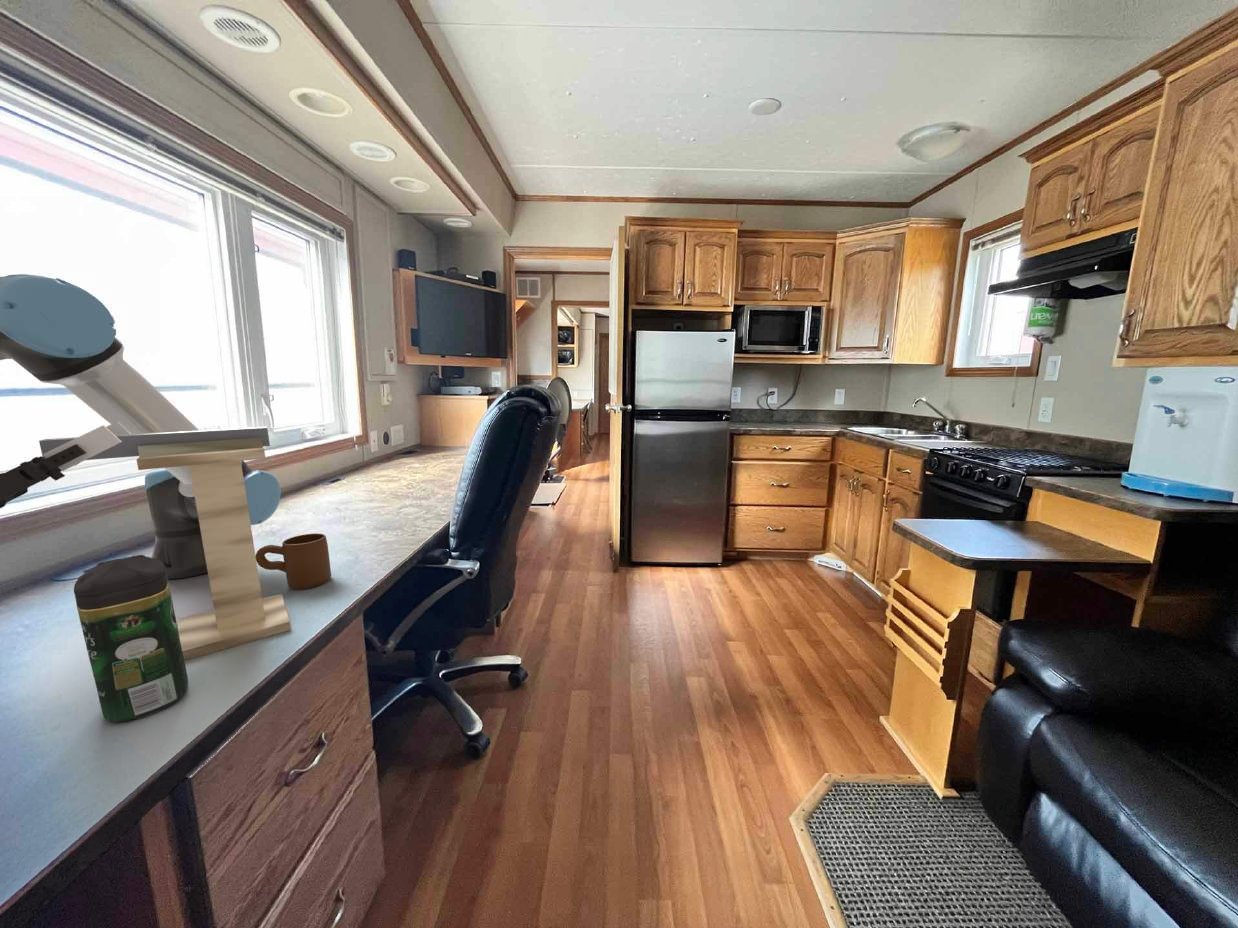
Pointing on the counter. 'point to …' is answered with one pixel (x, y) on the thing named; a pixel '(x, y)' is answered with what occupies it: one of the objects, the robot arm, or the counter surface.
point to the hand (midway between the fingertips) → (119, 431)
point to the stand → (222, 545)
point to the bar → (163, 440)
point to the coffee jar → (131, 637)
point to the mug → (300, 560)
